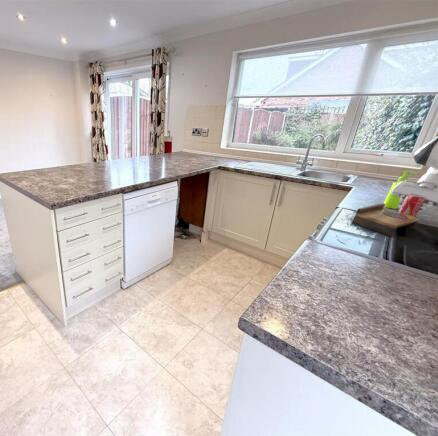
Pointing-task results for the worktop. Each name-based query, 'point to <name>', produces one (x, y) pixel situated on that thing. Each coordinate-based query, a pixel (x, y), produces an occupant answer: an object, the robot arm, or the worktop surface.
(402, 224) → the shelf
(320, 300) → the worktop surface
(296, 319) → the worktop surface
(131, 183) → the worktop surface
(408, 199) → the beverage can
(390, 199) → the soap dispenser
